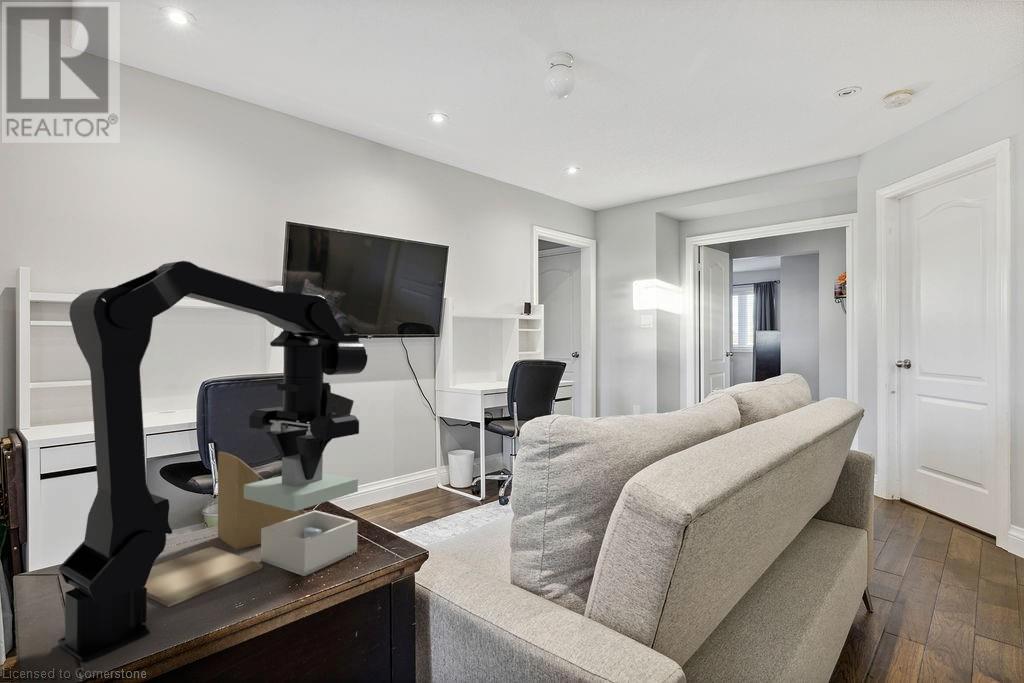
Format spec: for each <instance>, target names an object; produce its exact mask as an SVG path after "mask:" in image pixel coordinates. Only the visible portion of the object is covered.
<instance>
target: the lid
mask: <svg viewBox="0 0 1024 683" xmlns="http://www.w3.org/2000/svg"><path fill="white" fill-rule="evenodd" d="M323 456H324V454H323V453H322V456H321V458H320V461H319V464H318V467H317V469H316V472H315V475H314V477H313V479H311V480H306V479H305V475H304V472H303V468H302V464H301V459H300V455H299V454H297V455H292V456H288V457H283V458H282V457H281V475H280V476H276V477H270V478H268V479H267V478H266V479H265V480H262V481H258V482H254V483H249V484H245V485H244V498H245V499H249V500H253V501H256V502H260V503H264V504H268V505H272V506H276V507H279V508H283V509H287V510H291V511H298V510H301V509H303V510H304V509H306V508H311V507H313V506H314V507H315V506H316V505H320V504H323V503H325V502H328V501H332V500H335V499H336V500H337V499H338V498H341V497H345V496H349V495H351V494H354V493H357V492H358V489H359V487H358V486H359V485H358V483H359V479H358V478H355V477H350V476H345V475H339V474H334V473H330V472H329V473H328V472H324V471H323V462H324V461H323Z"/></svg>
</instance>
